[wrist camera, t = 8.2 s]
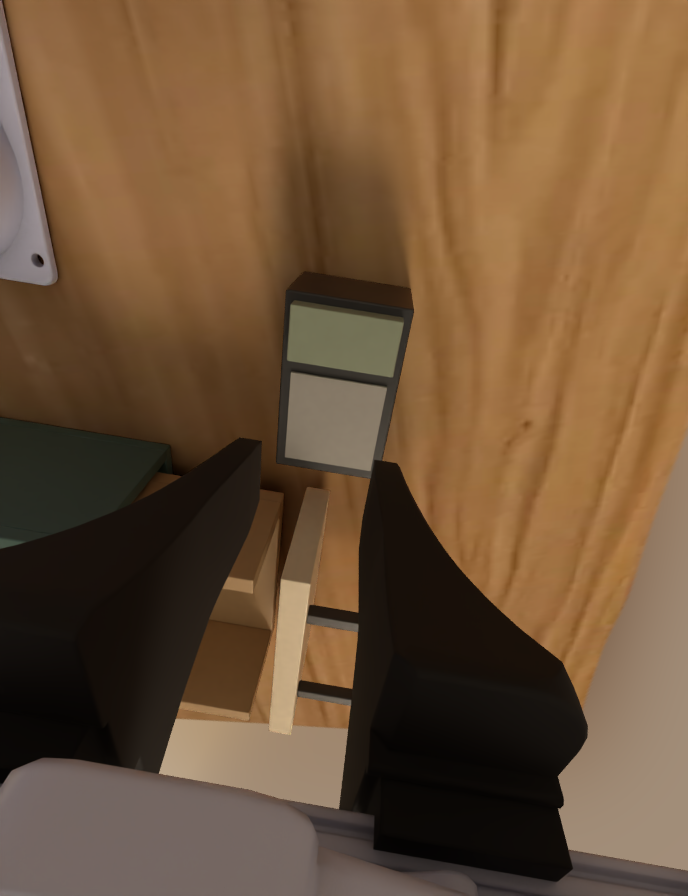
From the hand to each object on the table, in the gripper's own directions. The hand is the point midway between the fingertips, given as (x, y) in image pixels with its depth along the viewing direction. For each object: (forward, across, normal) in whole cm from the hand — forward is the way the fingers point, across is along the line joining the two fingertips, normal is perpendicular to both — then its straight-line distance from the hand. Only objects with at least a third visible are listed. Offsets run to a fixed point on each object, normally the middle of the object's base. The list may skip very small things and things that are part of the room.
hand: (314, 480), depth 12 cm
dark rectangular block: (+9, 0, 0) cm, 9 cm away
